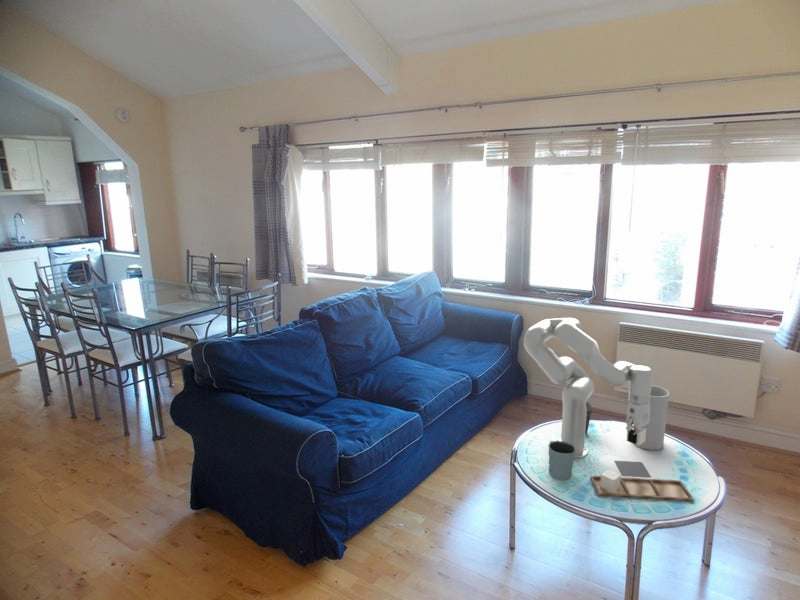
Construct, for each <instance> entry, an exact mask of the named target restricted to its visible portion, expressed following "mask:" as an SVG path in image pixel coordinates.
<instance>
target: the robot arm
mask: <svg viewBox="0 0 800 600" xmlns="http://www.w3.org/2000/svg"><path fill="white" fill-rule="evenodd" d="M582 330H583V325H582V324H581V322H580V321H579V320H578V319H576V318H574V317H560V318H546V319H542V320H540V321H538V322H536V323H534V324H532V325H531V326H530V327H529V328H527V330H526V331H525V334H524V337H523V346H524V349H525V350H526V352H527V353H528V354H529V356H530V357H531V358H532V359H533V360H534V361H535V362H536V364H537V365H538V367H540V369H541V370H542V371H543V372H544V373H545V375H546V376H547V377H548V378H549V380H550V381H552V383H554V384H555V385H562V384H565V383H567V385H566V386H565V387H564V388H563V390H562V394H561V401H562V419H561V434H560V435H561V437H559V439H558V440H556V441H563V442H567V443H570V444H572V445H573V446H574V447H575V449H576V452H575V457H574V460H577V459H583V458H585V457H587V456H588V453H589V451H588V449H587V447H586V446H585V441H586V434H585V430H586V401H587V400H588V399H589V398H590V397H591V396H592V394H593V393H594V391H595V384H594V382H593V381H592V379H591V378H590V376H589V375H588V374H587V373H586V372H585V370H584V369H583V368H582V367H581V365H579V364H578V363H577V362H576V361H575V360H574V359H573V358H571V357H569V356H566V355H565V356H563V355H562V356H560V357H558V355H557V354H556V353H555V352H554V350H553V349H552V348H550V347H549V346H547V345H546V344H545V343H546V342H547V341H548V340H550V339H551V338H557V340H559V341H560V342H561V343H563V344H564V345H565V346H567V347H568V348H569V349H571V350H572V351H573V352H574V353H576V354H577V355H579V356H580V357H581V358H582V359H583V360H584V362H585V364H586V365H587V366H588V368H589V369H590V370H591V371H592V372H593V374H595V376H597V377H598V378H599V379H601V380H602V381H604V382H605V383H607V384H608V385H610V386H613V387H622V386H624V385H626V384H625V383H627V382H628V381H629V388H628V389H629V390H628V401H629V402H628V407H627V413H626V427H625V430H626V431H627V430H628V441H627V442H629V443H632V444H634V445H635V444H636V441H637V434H636V432H637V429H640V428H641V427H643V428H645V425H646V424H648V423H649V422H650V396H651V385H652V384H653V383H652V381H653V370H652V368H650V367H649V366H646V365H637V364H634V363H631V362H628V361H625V360H618V361H616V362H614V363H613V364H612V363H611V362H610V361H608V360H607V359H606V358H605V357H604V356H603V355H602V354H601V352H600V348H599V344H598V342H597V341H596V340H595V339H594V338H592V337H591V336H589V335H588V334H586V333H585V332H584V331H582ZM633 425H634V426H633ZM632 428H634V430H633V429H632ZM554 441H555V440H549V444H550V443H551V442H554Z"/></svg>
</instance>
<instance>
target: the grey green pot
mask: <svg viewBox="0 0 800 600" xmlns="http://www.w3.org/2000/svg"><path fill="white" fill-rule="evenodd" d="M553 441H554V442H551V443H550V442H549V443H548V474H549V476H550V477H552V478H554V479H556V480H561V481H565V480H569V479H570V478H571V477H572V474H573V466H574V461H575V459H574V457H575V452H576V449H575V447H574V446H573V445H572V444H570V443H567V442H563V441H557V440H553Z"/></svg>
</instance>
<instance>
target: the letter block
mask: <svg viewBox="0 0 800 600" xmlns="http://www.w3.org/2000/svg"><path fill="white" fill-rule="evenodd" d="M632 425H633V424H632ZM633 426H634V425H633ZM632 429H633V430H634V428H632ZM636 434H637V441H636V445H635V446H637V445H640V444H642V443H644V442H645V438H646V428H643V427H641V428H640V429H637V432H636ZM626 442H628V430H627V429H626Z"/></svg>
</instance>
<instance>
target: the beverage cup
mask: <svg viewBox="0 0 800 600" xmlns="http://www.w3.org/2000/svg"><path fill="white" fill-rule="evenodd" d="M592 412H593V407H592V405H591V403H590V402H589V401H586V430H585V435H586V434H588V430H589V425H590V421H591V419H590V418H591V415H592Z"/></svg>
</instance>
